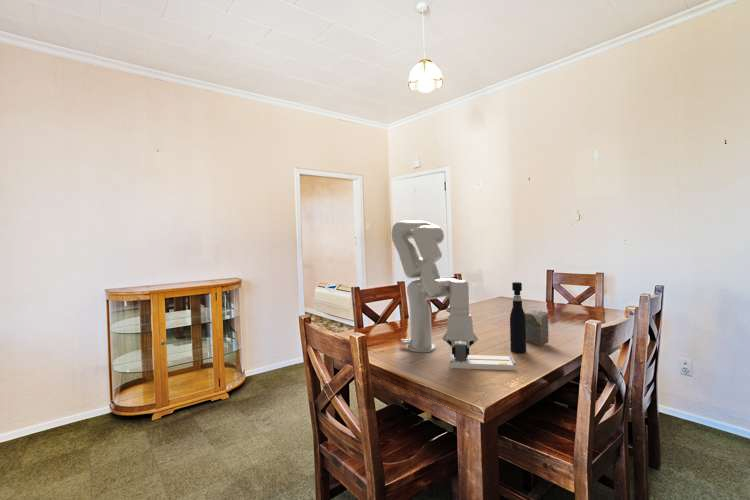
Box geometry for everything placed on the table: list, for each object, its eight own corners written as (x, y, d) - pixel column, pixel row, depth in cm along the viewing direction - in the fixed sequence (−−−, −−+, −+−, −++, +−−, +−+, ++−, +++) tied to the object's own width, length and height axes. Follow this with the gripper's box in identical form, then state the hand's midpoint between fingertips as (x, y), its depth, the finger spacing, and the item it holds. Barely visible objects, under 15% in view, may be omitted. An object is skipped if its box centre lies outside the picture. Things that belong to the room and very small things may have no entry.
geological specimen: (521, 340, 172) (520, 309, 171) (530, 338, 174) (530, 308, 174) (540, 346, 162) (539, 313, 162) (549, 344, 165) (549, 312, 164)
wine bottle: (527, 354, 153) (526, 283, 152) (511, 353, 154) (510, 283, 153) (524, 349, 159) (523, 281, 158) (509, 348, 160) (507, 282, 159)
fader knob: (455, 360, 141) (455, 345, 141) (455, 355, 147) (455, 340, 147) (466, 360, 141) (465, 345, 140) (465, 355, 146) (465, 341, 146)
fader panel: (450, 367, 140) (450, 360, 140) (450, 359, 150) (450, 352, 150) (515, 370, 135) (515, 363, 135) (511, 361, 145) (511, 354, 145)
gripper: (437, 313, 141) (439, 359, 142) (482, 313, 138) (483, 360, 139) (438, 309, 149) (439, 352, 149) (480, 309, 145) (481, 354, 146)
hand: (460, 356), depth 144 cm, fingers closed on fader knob, 4 cm apart
